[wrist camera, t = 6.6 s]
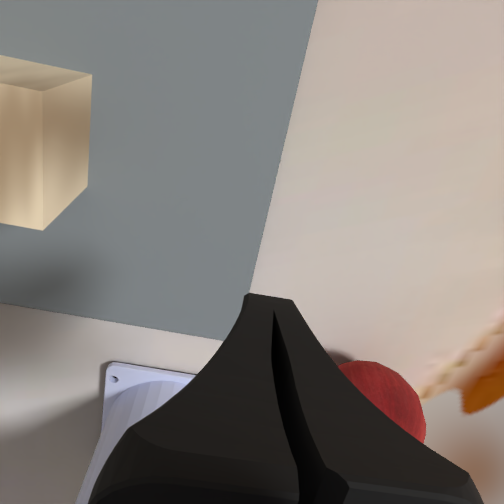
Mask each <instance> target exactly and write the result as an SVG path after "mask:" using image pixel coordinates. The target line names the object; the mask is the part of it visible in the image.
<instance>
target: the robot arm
mask: <svg viewBox="0 0 504 504" xmlns="http://www.w3.org/2000/svg"><path fill="white" fill-rule="evenodd" d="M112 376H115V377H117V378H114V377H112ZM75 504H484V503H483V501H482V499H481V496H480V494H479V492H478V490H477V488H476V486H475V484H474V482H473V480H472V479H471V477H470V475H469V473H468V472H466V471H465V470H463V469H461V468H460V467H458V466H456V465H455V464H453V463H452V462H450V461H449V460H447V459H446V458H444V457H442V456H441V455H439V454H437V453H436V452H435V451H433V450H431V449H430V448H428V447H427V446H426V445H424V444H423V443H421V442H420V441H419V440H417V439H416V438H415V437H413V436H412V435H411V434H409V433H408V432H406V431H405V430H404V429H403V428H401V427H400V426H399V425H398V424H396V423H395V422H394V421H392V420H391V419H390V418H389V417H388V416H387V415H385V414H384V413H383V412H382V411H381V410H380V409H379V408H377V407H376V406H375V405H374V404H373V403H372V402H371V401H370V400H369V399H368V398H367V397H365V396H364V395H363V394H362V393H361V392H360V391H359V389H358V388H357V387H356V386H355V385H354V384H353V383H352V382H351V381H350V380H349V379H348V378H347V377H346V376H345V375H344V374H343V372H342V371H341V370H340V369H339V368H338V366H337V365H336V364H335V363H334V361H333V360H332V359H331V358H330V356H329V355H328V354H327V353H326V351H325V350H324V348H323V347H322V346H321V344H320V343H319V341H318V340H317V338H316V337H315V336H314V334H313V333H312V331H311V329H310V328H309V326H308V325H307V323H306V322H305V320H304V318H303V317H302V315H301V313H300V312H299V310H298V308H297V307H296V305H295V304H294V302H293V301H292V300H290V299H284V298H278V297H271V296H265V295H259V294H253V293H248V294H246V295H244V299H243V303H242V308H241V312H240V314H239V316H238V318H237V320H236V322H235V324H234V326H233V328H232V329H231V331H230V333H229V334H228V336H227V337H226V339H225V340H224V342H223V343H222V345H221V346H220V348H219V349H218V351H217V352H216V353H215V354H214V356H213V357H212V358H211V359H210V361H209V362H208V363H207V364H206V365H205V366H204V368H203V369H202V370H201V371H200V372H199V373H198V374H197V375H191V374H185V373H179V372H173V371H167V370H161V369H155V368H149V367H143V366H136V365H130V364H124V363H118V362H113V363H110V364H109V365H108V367H107V369H106V377H105V389H104V402H103V415H102V428H101V435H100V438H99V441H98V443H97V446H96V449H95V451H94V454H93V457H92V459H91V462H90V465H89V467H88V470H87V473H86V475H85V478H84V481H83V483H82V486H81V489H80V491H79V494H78V497H77V499H76V502H75Z"/></svg>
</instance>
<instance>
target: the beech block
mask: <svg viewBox="0 0 504 504" xmlns="http://www.w3.org/2000/svg"><path fill="white" fill-rule="evenodd" d="M91 92H92V74H88V73H83V72H78V71H73V70H69V69H64V68H59V67H55V66H50V65H45V64H40V63H36V62H31V61H26V60H22V59H17V58H12V57H7V56H3V55H0V223H4V224H9V225H15V226H20V227H26V228H31V229H37V230H42V231H43V230H44V229H45V228H46V227H47V226H48V225H49V224H50V223H51V222H52V221H53V220H54V219H55V218H56V217H57V216H58V215H59V214H60V213H61V212H62V211H63V210H64V209H65V208H66V207H67V206H68V205H69V204H70V203H71V202H72V201H73V200H74V199H75V198H76V197H77V196H78V195H79V194H80V193H81V192H82V191H83V190H84V189H85V188H86V187H87V186H88V162H89V139H90V115H91Z"/></svg>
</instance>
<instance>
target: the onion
mask: <svg viewBox="0 0 504 504" xmlns="http://www.w3.org/2000/svg"><path fill="white" fill-rule="evenodd" d="M338 368H339V369H340V370H341V371H342V372H343V374H344V375H345V376H346V377H347V378H348V379H349V380H350V381H351V382H352V383H353V384H354V385H355V386H356V387H357V388H358V389H359V391H360V392H361V393H362V394H363V395H364V396H365V397H367V398H368V399H369V400H370V401H371V402H372V403H373V404H374V405H375V406H376V407H377V408H379V409H380V410H381V411H382V412H383V413H384V414H385V415H387V416H388V417H389V418H390V419H391V420H392V421H394V422H395V423H396V424H398V425H399V426H400V427H401V428H403V429H404V430H405V431H406V432H408V433H409V434H411V435H412V436H413V437H415V438H416V439H417V440H419V441H420V442H421V443H424V439H425V435H426V423H425V419H424V415H423V411H422V407H421V404H420V400H419V397H418V395H417V393H416V392H415V391H414V390H413V388H412V387H411V386H410V385H409V384H408V383H407V382H406V381H405V380H404V379H403V378H402V377H401V376H400V375H399V374H398V373H397V372H395V371H393V370H391V369H390V368H388V367H385V366H383V365H381V364H379V363H377V362H370V361H358V360H357V361H352V362H347V363H343V364H340V365H339V366H338Z"/></svg>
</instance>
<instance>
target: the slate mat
mask: <svg viewBox="0 0 504 504" xmlns="http://www.w3.org/2000/svg"><path fill="white" fill-rule="evenodd" d="M317 3H318V0H0V55H3V56H7V57H12V58H17V59H22V60H26V61H31V62H36V63H40V64H45V65H50V66H55V67H59V68H64V69H69V70H73V71H78V72H83V73H88V74H92V92H91V115H90V139H89V162H88V186H87V187H86V188H85V189H84V190H83V191H82V192H81V193H80V194H79V195H78V196H77V197H76V198H75V199H74V200H73V201H72V202H71V203H70V204H69V205H68V206H67V207H66V208H65V209H64V210H63V211H62V212H61V213H60V214H59V215H58V216H57V217H56V218H55V219H54V220H53V221H52V222H51V223H50V224H49V225H48V226H47V227H46V228H45V229H44V230H43V231H42V230H37V229H31V228H26V227H20V226H15V225H9V224H4V223H0V303H5V304H11V305H16V306H22V307H28V308H34V309H40V310H46V311H52V312H57V313H63V314H69V315H75V316H81V317H87V318H93V319H99V320H104V321H110V322H116V323H122V324H128V325H134V326H140V327H145V328H151V329H157V330H163V331H169V332H175V333H181V334H187V335H192V336H198V337H204V338H210V339H216V340H222V341H224V340H225V339H226V337H227V336H228V334H229V333H230V331H231V329H232V328H233V326H234V324H235V322H236V320H237V318H238V316H239V314H240V312H241V308H242V303H243V299H244V295H246V294H248V293H249V290H250V286H251V282H252V277H253V273H254V269H255V265H256V260H257V256H258V252H259V248H260V244H261V239H262V235H263V231H264V227H265V222H266V218H267V214H268V210H269V206H270V201H271V197H272V193H273V189H274V184H275V180H276V176H277V172H278V168H279V163H280V159H281V155H282V151H283V146H284V142H285V138H286V134H287V129H288V125H289V121H290V117H291V113H292V108H293V104H294V100H295V96H296V91H297V87H298V83H299V79H300V75H301V70H302V66H303V62H304V58H305V53H306V49H307V45H308V41H309V37H310V32H311V28H312V24H313V20H314V15H315V11H316V7H317Z"/></svg>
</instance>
